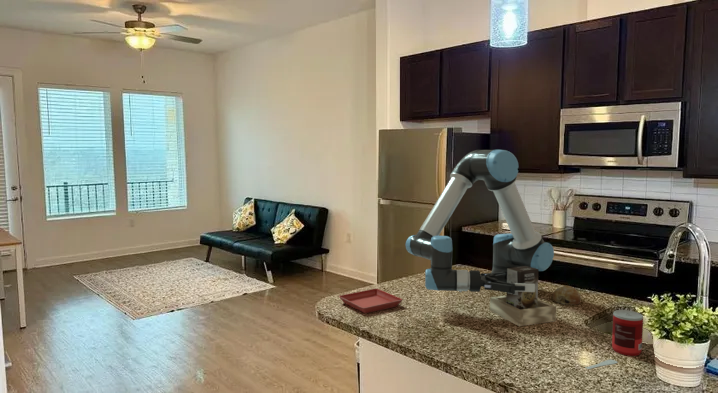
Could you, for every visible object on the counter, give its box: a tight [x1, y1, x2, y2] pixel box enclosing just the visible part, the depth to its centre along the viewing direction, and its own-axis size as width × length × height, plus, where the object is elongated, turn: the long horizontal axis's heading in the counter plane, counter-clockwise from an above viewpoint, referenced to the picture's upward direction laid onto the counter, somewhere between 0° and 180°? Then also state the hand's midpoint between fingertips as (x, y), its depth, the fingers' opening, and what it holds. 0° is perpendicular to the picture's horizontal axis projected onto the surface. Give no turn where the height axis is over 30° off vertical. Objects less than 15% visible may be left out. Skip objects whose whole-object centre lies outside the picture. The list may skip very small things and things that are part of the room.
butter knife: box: [584, 359, 619, 370], centre depth 131 cm, size 1×24×3 cm
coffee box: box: [505, 266, 539, 310], centre depth 173 cm, size 9×6×16 cm
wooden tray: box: [489, 295, 557, 327], centre depth 174 cm, size 15×17×5 cm
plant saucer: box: [338, 288, 404, 314], centre depth 187 cm, size 18×18×3 cm
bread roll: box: [552, 285, 582, 306], centre depth 191 cm, size 10×10×8 cm
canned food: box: [611, 309, 644, 357], centre depth 143 cm, size 8×8×11 cm
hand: (530, 282), depth 173 cm, fingers open, 13 cm apart
